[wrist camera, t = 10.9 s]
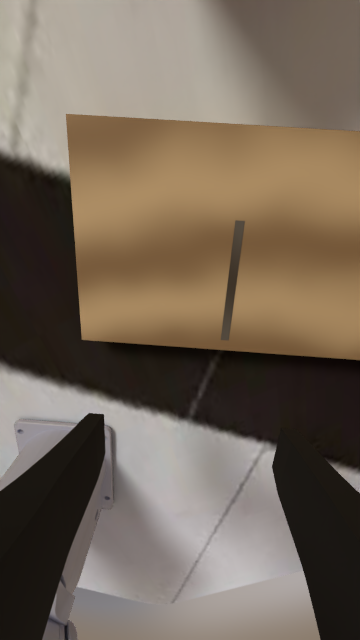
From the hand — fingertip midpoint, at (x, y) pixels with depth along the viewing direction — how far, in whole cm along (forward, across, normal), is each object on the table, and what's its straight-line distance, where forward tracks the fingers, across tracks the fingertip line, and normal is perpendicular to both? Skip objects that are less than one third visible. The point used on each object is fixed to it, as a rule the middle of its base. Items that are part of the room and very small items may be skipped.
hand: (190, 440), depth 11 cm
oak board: (+9, -8, -7) cm, 14 cm away
